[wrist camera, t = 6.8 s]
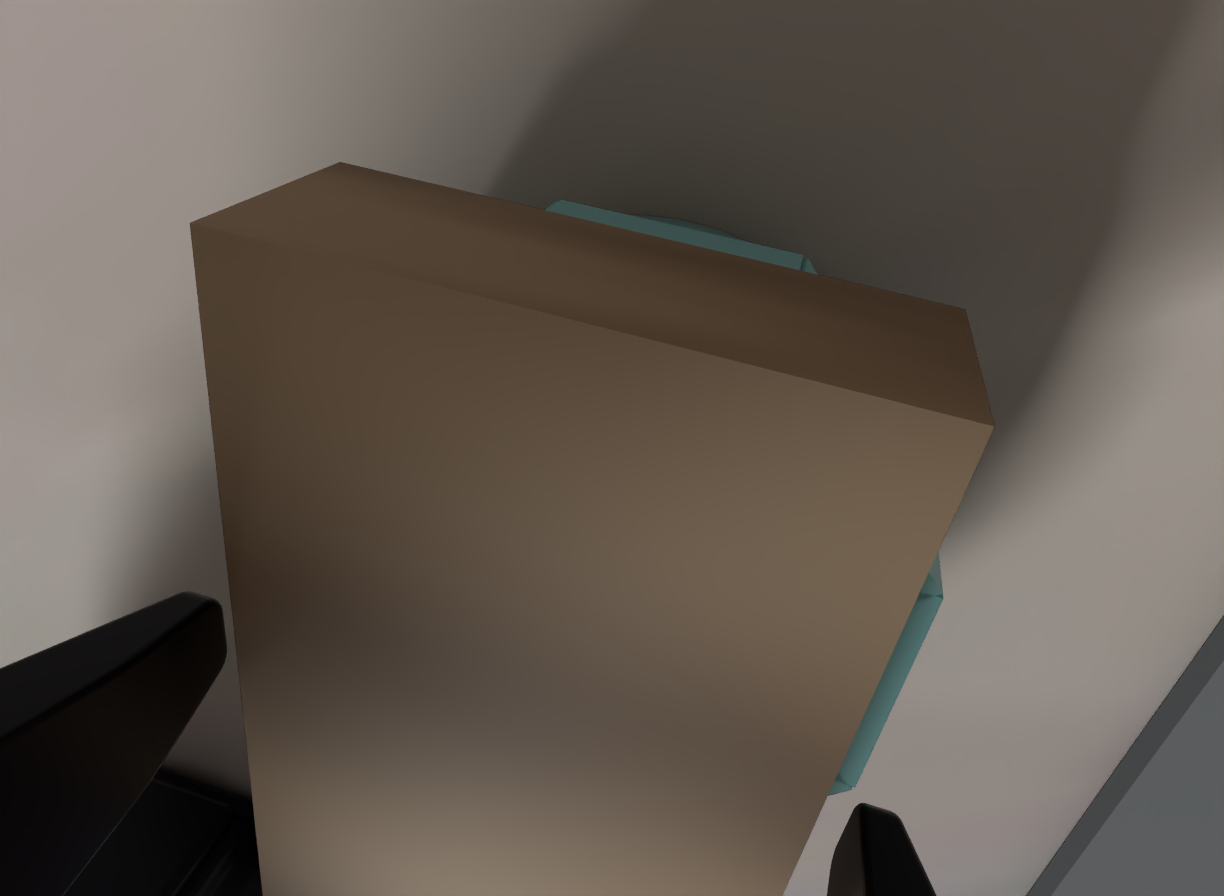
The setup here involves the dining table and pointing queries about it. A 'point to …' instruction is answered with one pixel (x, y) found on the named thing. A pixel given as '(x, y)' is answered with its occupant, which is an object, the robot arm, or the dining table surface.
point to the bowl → (932, 586)
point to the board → (558, 537)
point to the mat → (1158, 802)
